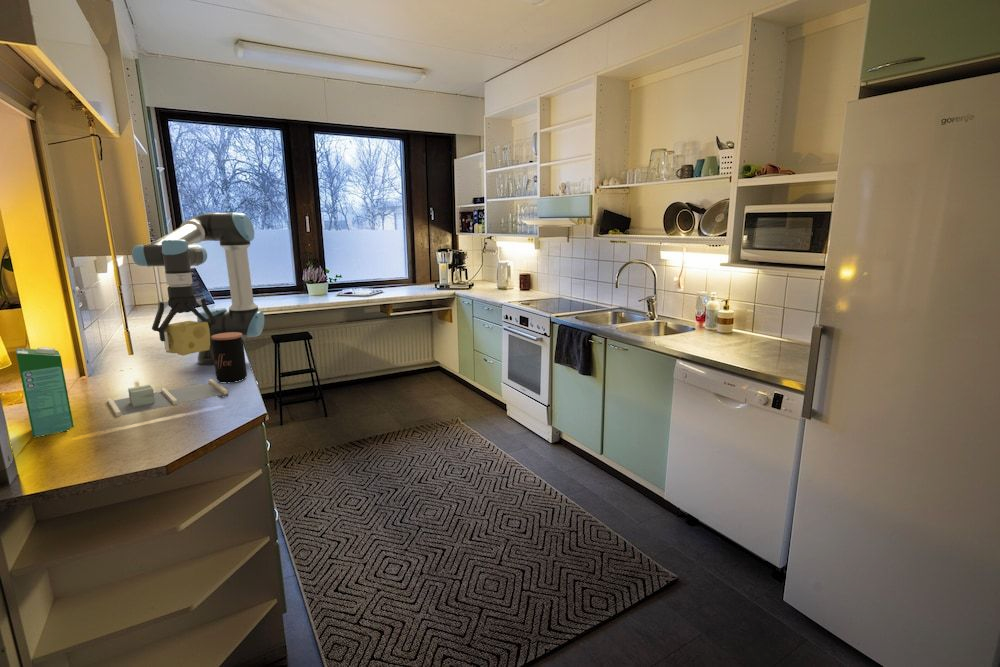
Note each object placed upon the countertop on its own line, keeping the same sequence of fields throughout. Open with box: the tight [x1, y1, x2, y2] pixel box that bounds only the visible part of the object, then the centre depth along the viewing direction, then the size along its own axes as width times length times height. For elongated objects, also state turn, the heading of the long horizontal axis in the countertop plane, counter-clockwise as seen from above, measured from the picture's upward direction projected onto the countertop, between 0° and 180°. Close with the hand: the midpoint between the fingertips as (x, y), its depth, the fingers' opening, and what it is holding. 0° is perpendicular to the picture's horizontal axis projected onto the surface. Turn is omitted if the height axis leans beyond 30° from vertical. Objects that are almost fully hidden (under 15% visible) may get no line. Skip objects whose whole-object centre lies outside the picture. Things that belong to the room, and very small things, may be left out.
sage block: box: [127, 384, 155, 407], centre depth 170 cm, size 6×6×5 cm
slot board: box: [106, 378, 229, 417], centre depth 176 cm, size 19×32×2 cm, turn 134°
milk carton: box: [15, 346, 75, 438], centre depth 148 cm, size 9×9×25 cm
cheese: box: [164, 320, 210, 356], centre depth 177 cm, size 10×11×10 cm
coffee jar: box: [211, 332, 248, 384], centre depth 198 cm, size 11×11×18 cm
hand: (188, 347), depth 177 cm, fingers closed on cheese, 12 cm apart
